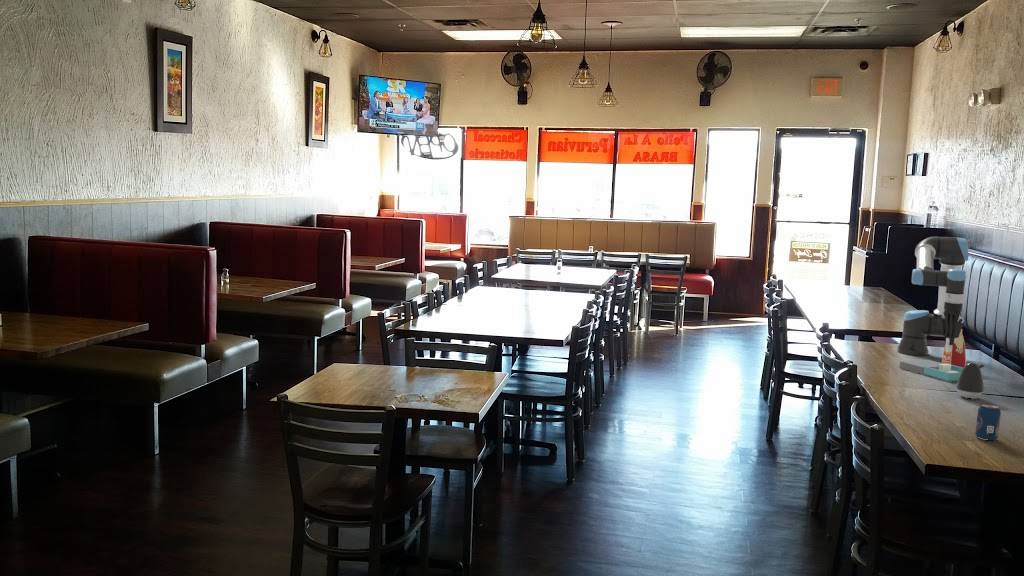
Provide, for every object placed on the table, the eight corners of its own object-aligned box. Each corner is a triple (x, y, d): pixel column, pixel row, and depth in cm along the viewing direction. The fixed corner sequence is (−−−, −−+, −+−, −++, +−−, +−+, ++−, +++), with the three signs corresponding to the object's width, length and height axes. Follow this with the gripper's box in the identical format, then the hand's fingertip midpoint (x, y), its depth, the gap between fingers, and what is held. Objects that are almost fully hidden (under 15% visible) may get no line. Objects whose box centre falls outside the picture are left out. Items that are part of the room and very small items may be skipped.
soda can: (972, 434, 288) (976, 402, 286) (994, 437, 286) (998, 404, 284) (977, 440, 281) (981, 407, 280) (1000, 442, 279) (1004, 409, 278)
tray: (951, 373, 390) (952, 364, 389) (976, 379, 377) (977, 371, 376) (923, 374, 384) (924, 366, 383) (948, 381, 371) (949, 373, 370)
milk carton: (958, 367, 404) (962, 328, 401) (966, 371, 395) (970, 331, 392) (939, 366, 405) (943, 327, 402) (946, 370, 396) (951, 330, 393)
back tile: (947, 363, 385) (951, 364, 382) (945, 373, 385) (950, 375, 383) (939, 364, 383) (943, 365, 381) (937, 374, 384) (942, 375, 381)
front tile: (961, 372, 377) (961, 378, 377) (952, 370, 382) (952, 375, 382) (953, 373, 375) (953, 378, 376) (944, 370, 380) (944, 376, 380)
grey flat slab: (927, 366, 403) (927, 359, 403) (950, 372, 390) (951, 365, 390) (899, 368, 397) (900, 361, 397) (922, 374, 384) (923, 367, 384)
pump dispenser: (988, 400, 338) (992, 365, 336) (966, 401, 336) (970, 365, 334) (971, 394, 348) (975, 360, 346) (949, 394, 346) (953, 360, 344)
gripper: (936, 300, 383) (930, 348, 386) (959, 304, 371) (954, 354, 374) (947, 299, 385) (942, 348, 389) (971, 304, 373) (966, 354, 377)
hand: (948, 351), depth 381 cm, fingers closed
